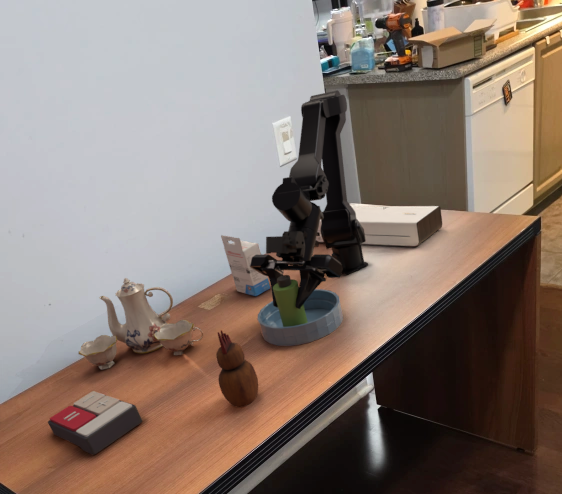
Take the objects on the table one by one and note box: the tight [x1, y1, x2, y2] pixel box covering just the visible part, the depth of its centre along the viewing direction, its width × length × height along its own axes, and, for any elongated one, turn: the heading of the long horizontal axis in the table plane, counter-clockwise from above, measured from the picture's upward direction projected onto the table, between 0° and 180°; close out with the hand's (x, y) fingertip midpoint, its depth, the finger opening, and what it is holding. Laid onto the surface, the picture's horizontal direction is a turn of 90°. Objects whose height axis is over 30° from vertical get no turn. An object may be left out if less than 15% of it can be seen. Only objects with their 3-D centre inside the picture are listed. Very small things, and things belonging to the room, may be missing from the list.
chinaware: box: [78, 277, 204, 370], centre depth 140 cm, size 28×17×17 cm, turn 91°
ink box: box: [220, 234, 271, 297], centre depth 156 cm, size 8×5×15 cm, turn 39°
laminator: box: [316, 205, 443, 248], centre depth 169 cm, size 34×12×6 cm, turn 49°
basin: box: [256, 288, 344, 347], centre depth 134 cm, size 17×17×4 cm
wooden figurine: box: [215, 329, 259, 408], centre depth 112 cm, size 7×6×15 cm
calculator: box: [47, 390, 143, 456], centre depth 119 cm, size 11×4×15 cm
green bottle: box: [273, 274, 308, 327], centre depth 129 cm, size 5×5×12 cm
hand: (286, 307), depth 128 cm, fingers closed on green bottle, 5 cm apart
